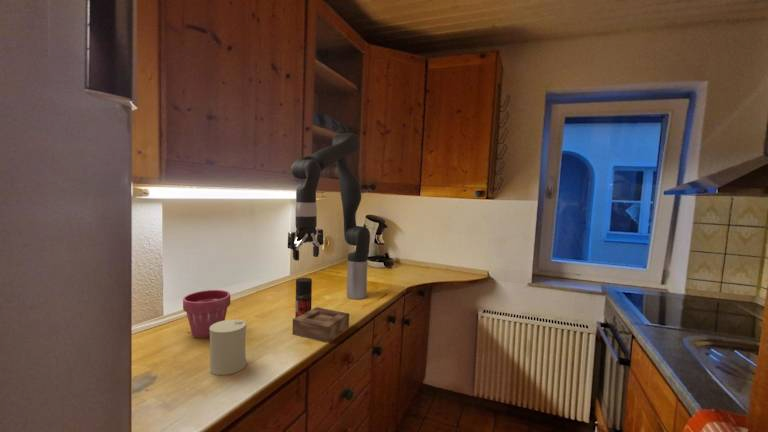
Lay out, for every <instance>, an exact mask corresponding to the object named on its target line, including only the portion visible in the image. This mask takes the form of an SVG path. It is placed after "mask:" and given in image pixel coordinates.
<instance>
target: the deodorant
mask: <svg viewBox="0 0 768 432" xmlns="http://www.w3.org/2000/svg"><path fill="white" fill-rule="evenodd" d="M312 287H313V279H312V278H310V277H299V278H296V279H295V310H294V311H295V313H294V314H295V315H294V316H295V318H296V317H298V316H300V315H302V314H304V313H306V312H308V311H310V310H312V300H313V299H312V296H313V295H312V294H313V293H312V290H313V288H312Z"/></svg>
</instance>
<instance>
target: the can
mask: <svg viewBox="0 0 768 432" xmlns="http://www.w3.org/2000/svg"><path fill="white" fill-rule="evenodd" d="M209 329H210V337H209V367H208V370H209V372H210V373H211V374H212V375H217V376H225V375H227V376H228V375H230V374H231V375H232V374H235V373H237V372H240V371H242V370H243V369H244V368H245V367H246V365H247V360H246V341H247V340H246V330H247V323H246V321H244V320H241V319H225V320H224V321H220V322H217V323H214V324H212V325H211V326H210V328H209Z"/></svg>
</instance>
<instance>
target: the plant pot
mask: <svg viewBox="0 0 768 432" xmlns="http://www.w3.org/2000/svg"><path fill="white" fill-rule="evenodd" d="M230 305H231V293H230V292H229V291H227V290H223V289H207V290H202V291H201V290H200V291H195V292H192V293H189V294H187V295H186V296H184V297H183V300H182V310H183V311H184V312H185V313H186V316H187V319H188V323H189V327H190V331H191V334H192V337H194V338H199V339H204V338H210V329H209V328H210V326H211V325H212V324H214V323H217V322H220V321H224V320H226V316H227V312H228V307H229V306H230Z"/></svg>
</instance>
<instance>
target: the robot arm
mask: <svg viewBox="0 0 768 432" xmlns="http://www.w3.org/2000/svg"><path fill="white" fill-rule="evenodd" d="M360 148H361V140H360V137H359V135H357V134H356V133H353V132H347V133H345V132H344V133H338V134H337V133H336V134H334V136H333V137H332V144H331V145H329V146H327V147H323V148H321V149H319V150H317V151H316V152H314V153H313V154H311V155H306V156H303V157H300V158H298V159H296V160H294V161H293V163H292V165H291V166H290V173H291V175H292V176H293V177H294V178H295V179H298V180H305V182H304V184H303V185H299V186H297V187H296V192H295V193H296V194H295V195H296V196H295V203H296V204H295V228H296V230H295V231H288V233H287V248H288V249H289V250H292V259H293V260H294V261H300V250H299V249H300V248H301V246H303V244H306V243H311V244H312V255H313V257H314V258H318V257H319V255H320V247H321V246H322V245H324V230H323V228H317V226H318V225H317V216H318V215H317V213H318V211H317V210H318V209H317V208H318V207H317V189H318V186H319V180H320V178H321V174H322V173H321V172H322V171H324V170H325V169H327V168H328V167H330V166H332V164H335V166H336V170H337V175H338V183H339V192H340V198H341V205H342V214H343V215H342V216H343V234H344V241H345V243H346V244H348V245H350V246H355V250H354V251H353V252H350V253H348V255H347V271H346V274H347V275H346V277H347V278H346V298H348V299H352V300H361V299H365V298H366V297H367V293H368V292H367V291H368V290H367V289H368V288H367V287H368V257H369V253H370V245H371V244H370V243H371V233H370V230H369V228H368V227H367V226H360V225H357V222H356V218H357V217H356V215H357V211H358V209H359V206H360V204H361V202H362V190H361V183H360V181H359V179H358V178H357V176H356V175H355V174H354V173H353V172H354V171H352V169H351V167H350V166H349V163H348V159H347V157H349V156H351V155H355V154H357V153H358V152H359V150H360Z"/></svg>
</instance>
